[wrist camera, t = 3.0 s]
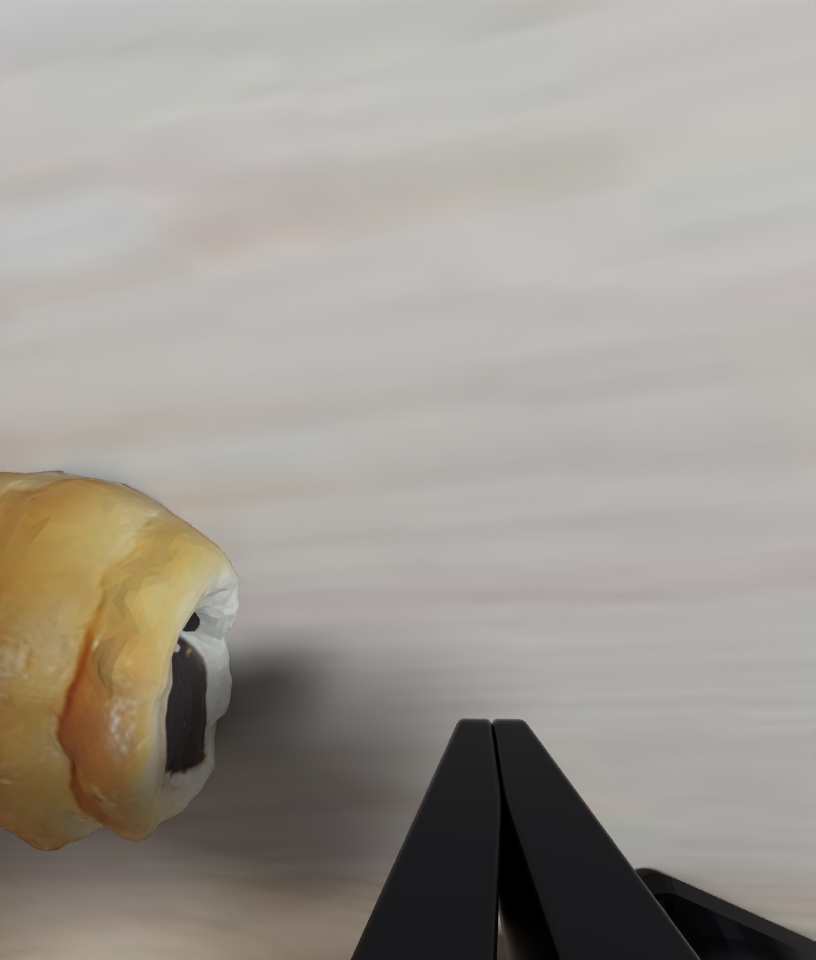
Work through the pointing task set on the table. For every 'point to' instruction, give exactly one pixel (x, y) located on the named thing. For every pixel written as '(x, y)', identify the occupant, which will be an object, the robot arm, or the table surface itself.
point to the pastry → (105, 658)
